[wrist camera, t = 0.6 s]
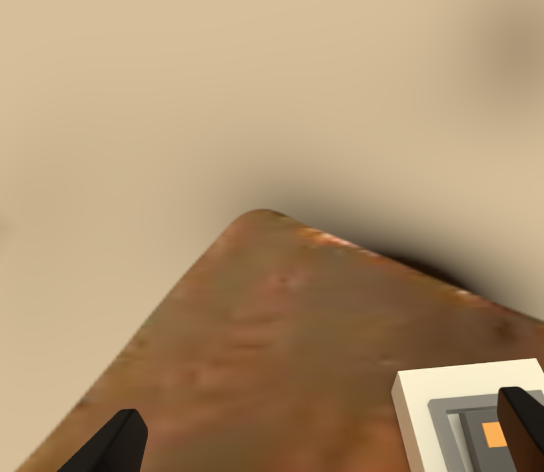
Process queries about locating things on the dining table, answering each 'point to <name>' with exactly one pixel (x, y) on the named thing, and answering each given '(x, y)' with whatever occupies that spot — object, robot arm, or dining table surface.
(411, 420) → the switch box
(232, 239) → the dining table surface
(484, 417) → the rocker
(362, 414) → the dining table surface
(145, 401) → the dining table surface
